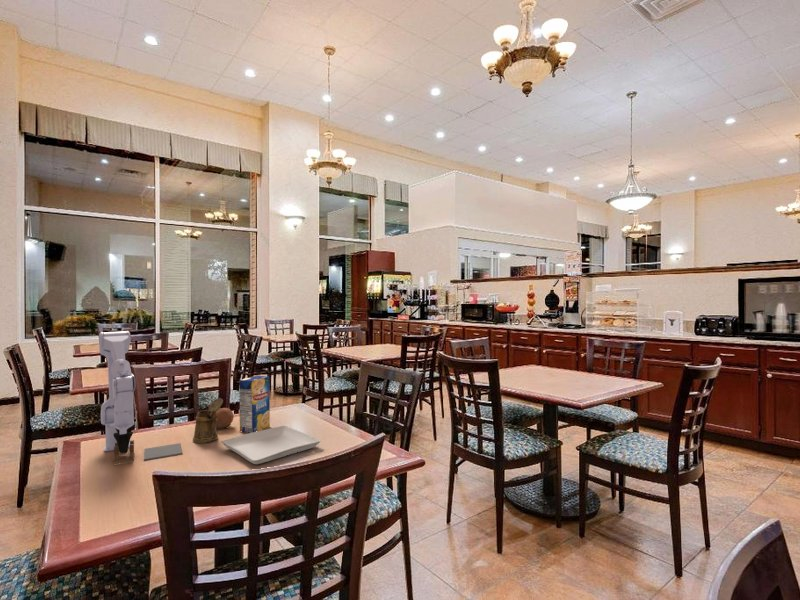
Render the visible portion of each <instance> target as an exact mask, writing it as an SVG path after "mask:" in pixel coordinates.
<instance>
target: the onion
mask: <svg viewBox="0 0 800 600" xmlns="http://www.w3.org/2000/svg"><path fill="white" fill-rule="evenodd" d="M216 414H217V424H216V430H221V429H223V428H225V429H228V428H230V427H231V424H232V423H233V420H234V413H233V411H232V410H231V409H230V408H228V407H222V408H221V407H220V408H219V409H218V410H217V411H216ZM227 427H228V428H227Z"/></svg>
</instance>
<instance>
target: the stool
mask: <svg viewBox="0 0 800 600" xmlns="http://www.w3.org/2000/svg"><path fill="white" fill-rule="evenodd" d="M128 451H129V453H128V454H127V453H126V454H121V455H120V452H119V447H118V443H115V447H114V450H113V456H114V457H113V463H112V464H117V465H120V464H119V463H123V464H127V462H129V463H134V462H135V457H136V454H135V453H136V452H135V440H133V439H130V444H129V448H128Z"/></svg>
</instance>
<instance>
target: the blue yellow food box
mask: <svg viewBox="0 0 800 600" xmlns="http://www.w3.org/2000/svg"><path fill="white" fill-rule="evenodd" d="M238 383H239V384H238V385H239V389H238V390H239V395H238V397H239V432H240V431H242V432H241V433H244V432H248V433H247V434H249V433H253V432H256V431H259V430H260V431H261V429H263V430H265V429H267V428H269V427H268V426H271V425H270V424H271V417H270V413H271V411H270V404H271V403H270V402H271V401H270V390H271V389H270V376H268V375H266V376H265V375H255V376H250V377H246V378H243V379H242V378H241V379H239V381H238ZM266 427H267V428H266ZM264 428H265V429H264Z"/></svg>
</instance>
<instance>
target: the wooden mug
mask: <svg viewBox="0 0 800 600" xmlns="http://www.w3.org/2000/svg"><path fill="white" fill-rule="evenodd" d="M223 403H224V399H223V398H222V397H217V398H216V399H215V400H213V401H212V402H210V404H209V405H208V407H207V409H205V410H199V411H197V413H196V416H195V427H194V434H193V438H192V443H195V444H208V443H211V442H215V441H216V440H217V439H219V436H218V432H217V429H216V424H217V414H216V411H217V410H218V409H219V408H221V406H222V405H223ZM214 440H215V441H214Z"/></svg>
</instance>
